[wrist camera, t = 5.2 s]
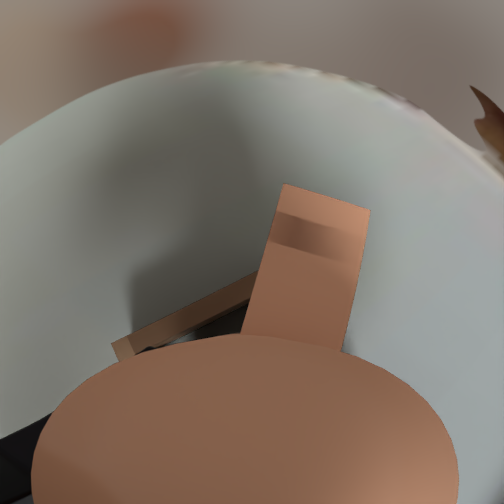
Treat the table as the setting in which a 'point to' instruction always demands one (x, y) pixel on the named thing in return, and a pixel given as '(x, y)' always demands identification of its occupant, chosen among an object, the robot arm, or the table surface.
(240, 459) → the tan dome with tab
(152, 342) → the holder
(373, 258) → the table surface
